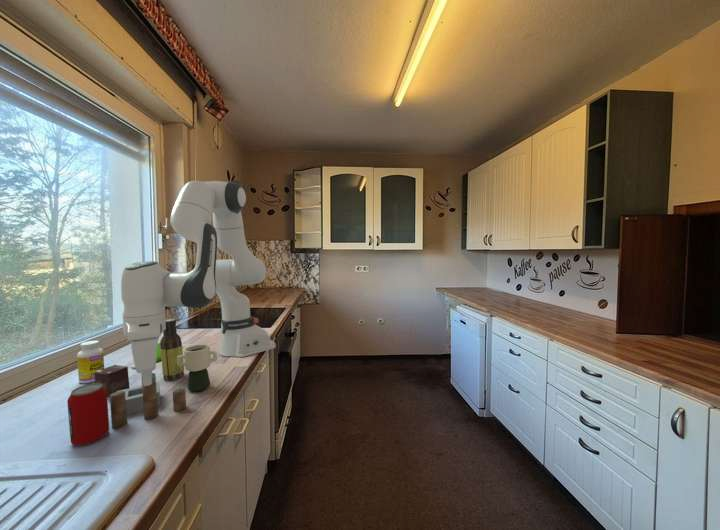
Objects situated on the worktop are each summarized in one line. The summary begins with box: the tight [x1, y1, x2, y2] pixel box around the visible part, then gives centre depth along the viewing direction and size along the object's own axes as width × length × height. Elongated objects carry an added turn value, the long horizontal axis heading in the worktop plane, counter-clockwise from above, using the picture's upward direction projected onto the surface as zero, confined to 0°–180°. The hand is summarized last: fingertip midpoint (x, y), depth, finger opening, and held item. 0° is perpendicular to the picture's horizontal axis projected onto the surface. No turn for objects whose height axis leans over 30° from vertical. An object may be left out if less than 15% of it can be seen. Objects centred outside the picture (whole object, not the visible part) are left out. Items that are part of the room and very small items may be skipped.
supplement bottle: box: [76, 340, 105, 384], centre depth 103 cm, size 7×7×13 cm
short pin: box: [172, 388, 187, 413], centre depth 83 cm, size 3×3×5 cm
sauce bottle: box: [159, 318, 185, 382], centre depth 103 cm, size 6×6×20 cm
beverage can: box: [67, 382, 110, 446], centre depth 70 cm, size 7×7×12 cm
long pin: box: [141, 372, 159, 421], centre depth 79 cm, size 3×3×11 cm
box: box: [94, 364, 130, 398], centre depth 94 cm, size 6×6×7 cm
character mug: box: [177, 343, 218, 392], centre depth 95 cm, size 11×7×13 cm, turn 112°
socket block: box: [117, 381, 161, 416], centre depth 85 cm, size 10×8×4 cm
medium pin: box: [109, 391, 128, 430], centre depth 76 cm, size 3×3×8 cm
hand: (148, 378), depth 79 cm, fingers open, 8 cm apart
